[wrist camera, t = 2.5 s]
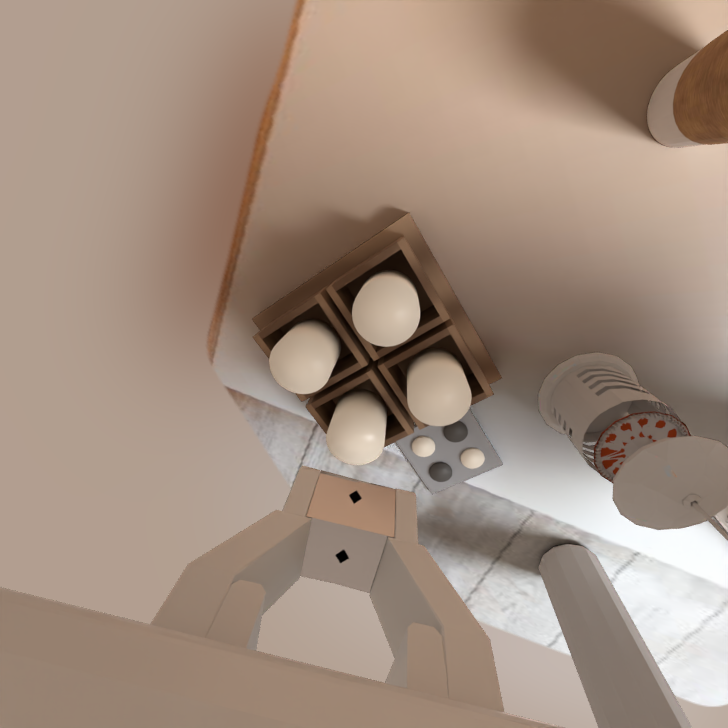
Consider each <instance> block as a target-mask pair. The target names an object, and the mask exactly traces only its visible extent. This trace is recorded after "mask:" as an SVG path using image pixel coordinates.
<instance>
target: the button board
mask: <svg viewBox="0 0 728 728" xmlns="http://www.w3.org/2000/svg"><path fill="white" fill-rule="evenodd" d="M383 270H394V271H398V272H401V273H403V274H404V275H406V276H407V277H408V278H410V280H411V281H412V282H413V283H414V285H415V287H416V290H417V294H418V300H419V306H420V320H419V324H418V327H417V329H416V330H415V332H414V333H413V335H412V336H411V337H410V338H408V339H407V340H406V341H404V342H403V343H401V344H398V345H395V346H389V347H384V346H378V345H374V344H372V343H370V342H368V341H366V340H365V339H364V338H363V337H362V336H361V335H360V334H359V333H358V331H357V330H356V328H355V326H354V323H353V319H352V308H353V303H354V301H355V298H356V297H357V295H358V293H359V291H360V290H361V288H362V286H363V284H364V283H365V282H366V280H367V279H368V278H369V277H370V276H372V275H373V274H375V273H377V272H379V271H383ZM306 319H319V320H322V321H324V322H326V323H328V324H329V325H331V326H332V327H333V328H334V329H335V331H336V332H337V334H338V336H339V338H340V342H341V352H340V355H339V357H338V360H337V362H336V364H335V366H334V368H333V371H332V373H331V375H330V377H329V379H328V381H327V383H326V384H325V385H324V386H323V387H322V388H321V389H319V390H318V391H316V392H313V393H309V394H297V393H295V394H296V395H297V396H298V398H299V399H300V400H301V402H302V401H304V400H306V399H308V398H310V399H309V401H308V403H307V405H306V408H307V409H308V411H309V412H310V413H311V415H312V416H313V417H314V419H315V420H316V421H317V423H318V424H319V425H320V427H321V428H322V429H323V431H324V432H325V433H326V435H327V431H328V428H329V425H330V422H331V419H332V417H333V414H334V411H335V408H336V405H337V403H338V400H339V399H340V398H341V396H342V395H344V394H345V393H346V392H348V391H350V390H354V389H367V390H370V391H372V392H374V393H376V394H377V395H379V396H380V397H381V398H382V400H383V401H384V403H385V405H386V408H387V420H386V432H385V444H384V447H386V446H388V445H390V444H392V443H394V442H396V441H398V440H400V439H402V438H404V437H406V436H408V435H411V434H413V433H414V422H415V424H416V425H417V427H418V428H419V430H421V429H423V428H425V427H427V426H429V425H428V424H425V423H423V422H421V421H419V420H418V419H417V418H416V417H415V416H414V415H413V414H412V413H411V411H410V409H409V406H408V402H407V368H408V365H409V363H410V361H411V360H412V358H413V357H414V356H415V355H416V354H418V353H419V352H421V351H423V350H426V349H429V348H441V349H445V350H448V351H450V352H451V353H453V354H454V355H455V356H456V357H457V358H458V360H459V361H460V363H461V366H462V368H463V371H464V374H465V376H466V379H467V382H468V385H469V387H470V390H471V395H472V399H471V405H473V404H475V403H477V402H479V401H481V400H483V399H485V398H487V397H489V396H492V395H494V393H493V391H492V389H491V387H490V385H489V384H491V383H493V382H495V381H497V380H499V379H501V378H502V377H501V375H500V373H499V372H498V370H497V368H496V366H495V365H494V363H493V361H492V359H491V357H490V356H489V354H488V352H487V350H486V349H485V347H484V345H483V343H482V341H481V340H480V338H479V336H478V334H477V333H476V331H475V329H474V327H473V325H472V324H471V322H470V320H469V318H468V317H467V315H466V313H465V311H464V309H463V308H462V306H461V304H460V302H459V300H458V299H457V297H456V295H455V293H454V292H453V290H452V288H451V286H450V284H449V283H448V281H447V279H446V277H445V276H444V274H443V272H442V270H441V268H440V267H439V265H438V263H437V261H436V260H435V258H434V256H433V254H432V252H431V251H430V249H429V247H428V245H427V244H426V242H425V240H424V238H423V236H422V235H421V233H420V231H419V229H418V228H417V226H416V224H415V222H414V220H413V219H412V217H411V215H410V213H408V214H406V215H405V216H403V217H402V218H400V219H399V220H397V221H396V222H394V223H393V224H391V225H390V226H388V227H387V228H385V229H384V230H383V231H381V232H380V233H378V234H377V235H375V236H374V237H372V238H371V239H369V240H368V241H366V242H365V243H363V244H362V245H360V246H359V247H357V248H356V249H354V250H353V251H351V252H350V253H348V254H347V255H346V256H344V257H343V258H341V259H340V260H338V261H337V262H335V263H334V264H332V265H331V266H329V267H328V268H326V269H325V270H323V271H322V272H320V273H319V274H317V275H316V276H314V277H313V278H311V279H310V280H309V281H307V282H306V283H304V284H303V285H301V286H300V287H298V288H297V289H295V290H294V291H292V292H291V293H289V294H288V295H286V296H285V297H283V298H282V299H280V300H279V301H277V302H276V303H274V304H273V305H272V306H270V307H269V308H267V309H266V310H264V311H263V312H261V313H260V314H258V315H257V316H255V317H254V318H252V320H253V321H254V323H255V324H256V325H257V327H258V328H259V329H260V332H258V333H257V334H256V335H255V336H253V338H254V340H255V341H256V342H257V344H258V345H259V346H260V348H261V349H262V350H263V352H264V353H265V354H266V355H267V357H268V358H270V354H271V351H272V349H273V348H274V346H275V345H276V344H277V343H278V342H279V341H280V340H281V339H282V338H283V337H284V336H285V335H286V334H287V333H288V332H289V331H290V330H291V329H292V328H293V327H294V326H295V325H296V324H297V323H298V322H300V321H302V320H306ZM471 405H470V406H471Z"/></svg>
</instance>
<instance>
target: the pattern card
mask: <svg viewBox="0 0 728 728" xmlns="http://www.w3.org/2000/svg"><path fill="white" fill-rule="evenodd" d="M396 444H397V445H398V446H399V448H400V449H401V451H402V452H403V454H404V455H405V456H406V458H407V459H408V461H409V462H410V464H411V465H412V466H413V468H414V469H415V471H416V472H417V474H418V475H419V476H420V478H421V479H422V481H423V482H424V484H425V485H426V486H427V488H428V489H429V491H430V492H431V494H435V493H437V492H439V491H442V490H444V489H447V488H449V487H451V486H454V485H456V484H458V483H461V482H463V481H466V480H468V479H470V478H473V477H475V476H477V475H480V474H482V473H485V472H487V471H489V470H492V469H494V468H496V467H499V466H501V465H503V464H502V461H501V460H500V458H499V456H498V455H497V453H496V452H495V450H494V448H493V447H492V445H491V443H490V442H489V440H488V438H487V437H486V435H485V433H484V432H483V430H482V429H481V427H480V425H479V424H478V422H477V420H476V419H475V417H474V415H473V414H472V412H471V410H470V409H469V410H468V411H467V413H466V414H465V415H464V416H463V417H462V418H461V419H460V420H458V421H457V422H455V423H453V424H450V425H446V426H431V425H429V426H427V427H425V428H423V429H421V430H419V428H418V427H417V425H414V433H413V434H411V435H408V436H406V437H404V438H402V439H400V440H398V441H396Z"/></svg>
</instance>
